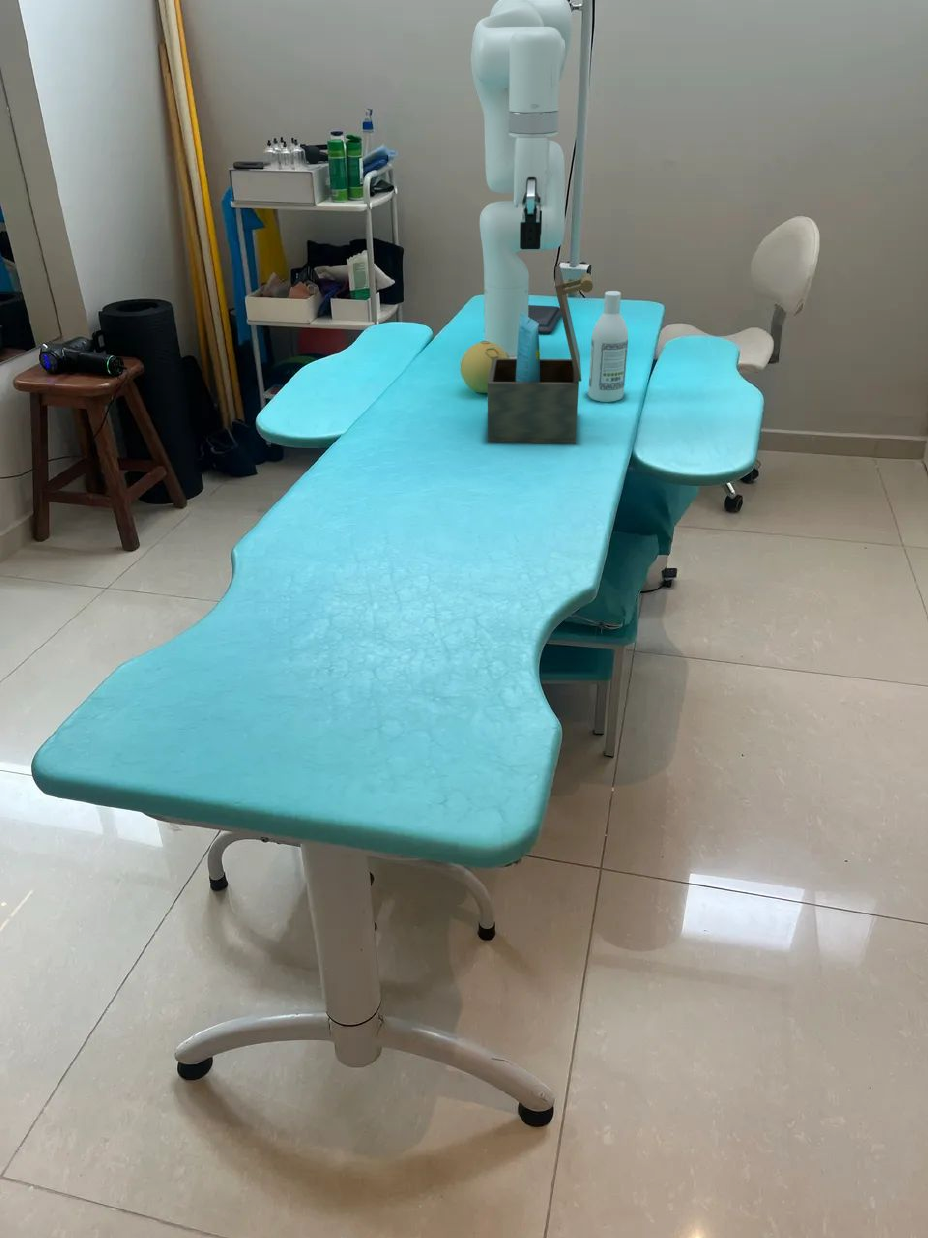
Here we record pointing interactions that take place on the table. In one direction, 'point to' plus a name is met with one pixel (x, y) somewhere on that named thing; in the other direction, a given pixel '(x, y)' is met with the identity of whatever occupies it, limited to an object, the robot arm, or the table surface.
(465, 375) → the stress ball
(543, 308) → the wallet
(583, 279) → the lid
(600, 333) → the bath foam
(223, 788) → the table surface
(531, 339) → the tube
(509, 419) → the chest
